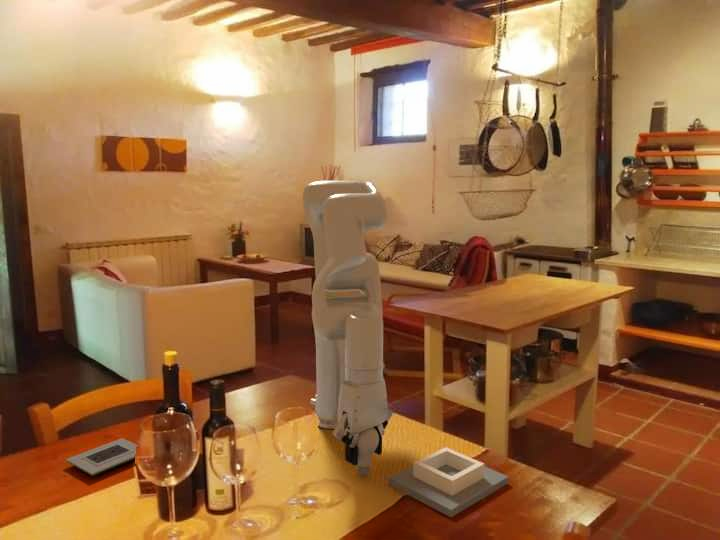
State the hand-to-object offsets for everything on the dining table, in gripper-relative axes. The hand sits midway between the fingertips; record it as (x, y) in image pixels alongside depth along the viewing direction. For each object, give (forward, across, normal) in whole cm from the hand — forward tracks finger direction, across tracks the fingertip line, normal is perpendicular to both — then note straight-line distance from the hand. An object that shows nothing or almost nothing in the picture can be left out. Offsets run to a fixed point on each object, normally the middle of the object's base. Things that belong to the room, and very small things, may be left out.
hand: (363, 456), depth 123 cm
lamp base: (+4, -11, +14) cm, 18 cm away
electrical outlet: (+6, +36, -42) cm, 56 cm away
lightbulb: (+4, 0, 0) cm, 4 cm away
